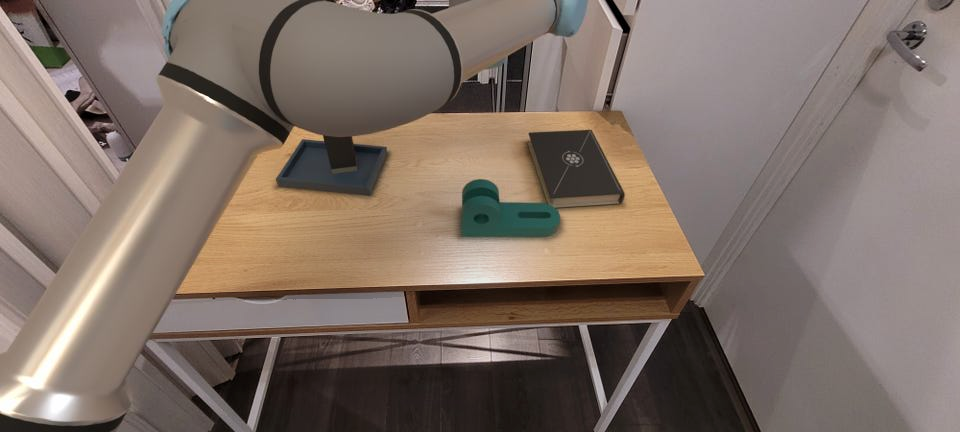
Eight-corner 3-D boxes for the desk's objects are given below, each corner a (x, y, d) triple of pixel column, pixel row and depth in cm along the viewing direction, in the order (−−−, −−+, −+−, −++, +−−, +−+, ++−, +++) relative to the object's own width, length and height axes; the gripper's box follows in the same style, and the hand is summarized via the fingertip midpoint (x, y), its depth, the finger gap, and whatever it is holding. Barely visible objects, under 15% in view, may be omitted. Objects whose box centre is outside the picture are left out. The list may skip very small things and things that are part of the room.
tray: (278, 186, 91) (275, 179, 89) (304, 146, 100) (302, 138, 99) (370, 195, 90) (369, 187, 88) (387, 154, 99) (386, 146, 98)
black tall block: (356, 159, 97) (344, 95, 86) (357, 171, 94) (344, 106, 84) (332, 162, 96) (316, 98, 85) (332, 174, 93) (316, 109, 83)
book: (622, 204, 90) (626, 192, 88) (548, 209, 89) (551, 197, 86) (590, 140, 105) (592, 129, 103) (527, 143, 104) (528, 132, 102)
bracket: (461, 236, 83) (461, 204, 77) (462, 210, 87) (462, 178, 82) (560, 237, 83) (567, 205, 78) (555, 211, 88) (562, 180, 83)
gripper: (428, 110, 71) (284, 125, 67) (406, 42, 88) (291, 51, 84) (425, 64, 66) (269, 77, 62) (403, 2, 83) (280, 8, 79)
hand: (281, 62), depth 73 cm, fingers open, 13 cm apart
